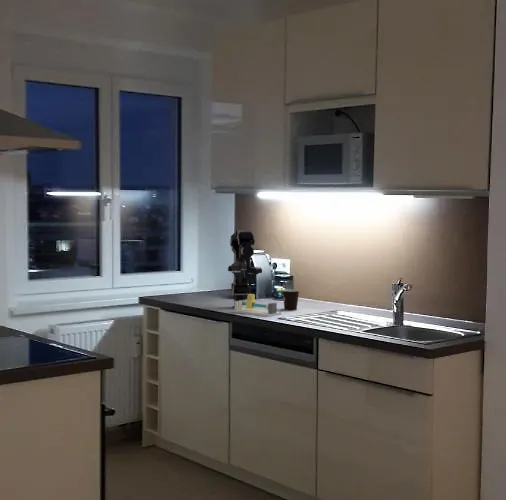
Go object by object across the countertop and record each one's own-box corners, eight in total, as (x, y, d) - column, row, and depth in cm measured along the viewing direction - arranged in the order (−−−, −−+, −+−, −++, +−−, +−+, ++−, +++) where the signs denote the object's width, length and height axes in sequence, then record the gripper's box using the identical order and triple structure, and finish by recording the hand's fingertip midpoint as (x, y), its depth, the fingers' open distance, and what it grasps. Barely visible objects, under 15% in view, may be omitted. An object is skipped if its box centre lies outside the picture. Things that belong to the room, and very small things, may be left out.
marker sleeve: (246, 308, 409) (246, 294, 409) (251, 307, 412) (251, 293, 412) (250, 309, 407) (250, 294, 407) (255, 308, 410) (255, 294, 410)
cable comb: (232, 311, 411) (232, 301, 410) (246, 309, 419) (247, 299, 419) (267, 316, 396) (267, 305, 395) (281, 314, 404) (281, 303, 404)
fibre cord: (238, 309, 413) (238, 299, 413) (242, 308, 416) (243, 298, 415) (271, 313, 399) (272, 303, 398) (276, 313, 402) (276, 303, 401)
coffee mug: (297, 311, 416) (297, 291, 415) (281, 310, 418) (281, 291, 417) (300, 307, 427) (300, 289, 426) (284, 307, 429) (284, 288, 428)
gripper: (220, 255, 411) (220, 286, 412) (248, 257, 399) (248, 289, 400) (235, 254, 419) (235, 284, 420) (263, 256, 407) (262, 287, 408)
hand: (244, 286), depth 412 cm, fingers open, 6 cm apart
